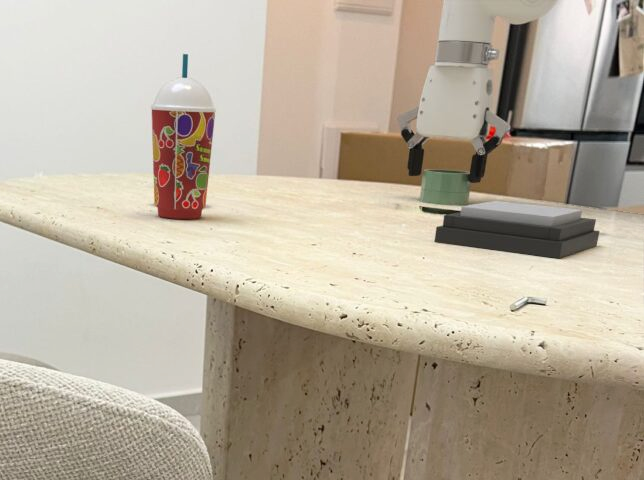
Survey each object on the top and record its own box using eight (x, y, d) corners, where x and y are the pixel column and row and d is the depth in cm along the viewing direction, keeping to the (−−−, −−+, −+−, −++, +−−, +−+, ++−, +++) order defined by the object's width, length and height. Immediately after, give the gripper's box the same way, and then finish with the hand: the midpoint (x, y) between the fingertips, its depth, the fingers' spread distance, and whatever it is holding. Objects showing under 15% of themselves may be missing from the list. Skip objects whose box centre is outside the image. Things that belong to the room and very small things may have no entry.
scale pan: (492, 213, 122) (494, 200, 121) (579, 222, 116) (582, 209, 115) (459, 219, 114) (461, 206, 113) (551, 230, 108) (553, 216, 107)
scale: (480, 231, 126) (484, 206, 124) (596, 245, 117) (601, 219, 116) (434, 241, 114) (437, 214, 113) (559, 258, 106) (564, 229, 105)
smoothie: (210, 222, 122) (218, 54, 115) (146, 219, 122) (150, 51, 115) (211, 214, 130) (218, 56, 122) (150, 211, 130) (154, 53, 123)
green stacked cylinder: (430, 207, 150) (435, 168, 147) (473, 212, 146) (479, 172, 143) (410, 211, 144) (415, 170, 142) (455, 216, 140) (461, 174, 138)
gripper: (529, 60, 135) (508, 184, 141) (418, 56, 145) (402, 172, 151) (511, 57, 129) (489, 186, 136) (396, 53, 139) (381, 174, 145)
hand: (443, 178), depth 143 cm, fingers open, 9 cm apart
